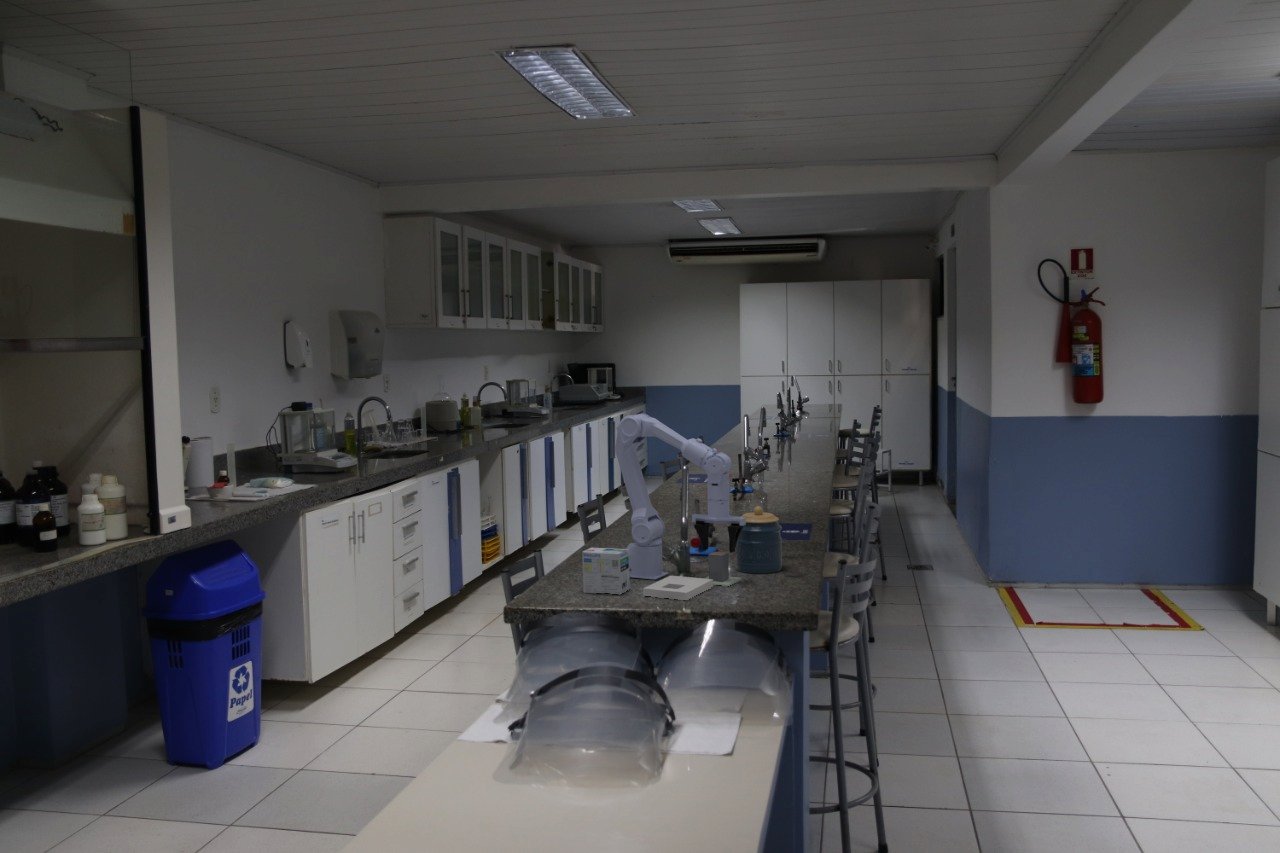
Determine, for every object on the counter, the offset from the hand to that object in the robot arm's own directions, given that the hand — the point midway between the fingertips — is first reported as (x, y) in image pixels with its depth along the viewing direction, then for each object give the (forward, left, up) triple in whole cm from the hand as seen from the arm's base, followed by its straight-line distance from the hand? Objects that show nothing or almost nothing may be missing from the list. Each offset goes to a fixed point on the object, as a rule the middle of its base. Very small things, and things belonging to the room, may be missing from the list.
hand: (718, 550), depth 265 cm
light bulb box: (-22, -21, -9) cm, 32 cm away
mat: (0, 0, -8) cm, 8 cm away
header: (-5, -14, -8) cm, 17 cm away
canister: (+4, +19, -8) cm, 21 cm away
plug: (0, 0, -8) cm, 8 cm away
